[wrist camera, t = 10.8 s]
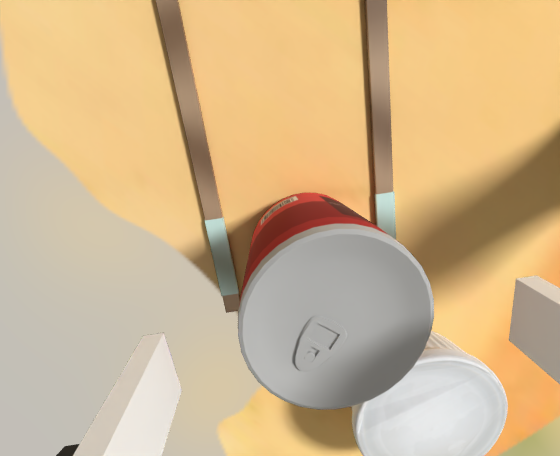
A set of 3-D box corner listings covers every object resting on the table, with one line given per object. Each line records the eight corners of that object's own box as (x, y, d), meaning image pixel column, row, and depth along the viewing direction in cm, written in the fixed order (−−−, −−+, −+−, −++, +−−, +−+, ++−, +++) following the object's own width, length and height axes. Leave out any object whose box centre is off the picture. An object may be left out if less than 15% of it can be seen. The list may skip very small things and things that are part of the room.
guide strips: (136, -88, 16) (133, -92, 16) (381, -124, 17) (383, -129, 16) (230, 332, 24) (230, 334, 24) (396, 306, 24) (398, 308, 24)
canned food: (240, 281, 23) (216, 394, 12) (266, 178, 21) (265, 202, 10) (337, 303, 24) (394, 427, 13) (369, 205, 22) (468, 254, 11)
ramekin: (385, 292, 24) (417, 333, 19) (489, 346, 26) (543, 395, 21) (313, 393, 27) (324, 452, 22) (413, 434, 29) (445, 498, 24)
